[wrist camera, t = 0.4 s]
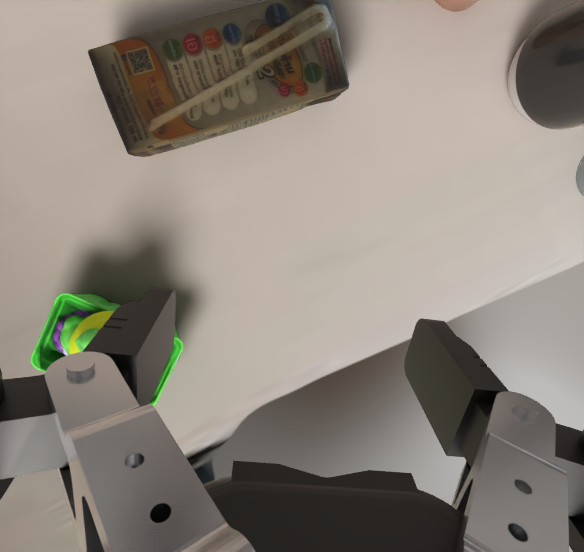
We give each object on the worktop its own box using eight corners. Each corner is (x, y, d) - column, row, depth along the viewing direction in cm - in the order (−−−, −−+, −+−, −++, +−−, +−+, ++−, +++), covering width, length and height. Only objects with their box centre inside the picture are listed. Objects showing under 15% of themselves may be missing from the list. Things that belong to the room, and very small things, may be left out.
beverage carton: (335, 104, 36) (356, 88, 30) (141, 162, 35) (121, 158, 29) (313, 12, 34) (331, -26, 28) (105, 71, 33) (75, 44, 27)
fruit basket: (53, 343, 38) (-20, 408, 27) (87, 264, 36) (24, 299, 25) (162, 383, 40) (136, 457, 29) (197, 311, 39) (184, 361, 28)
